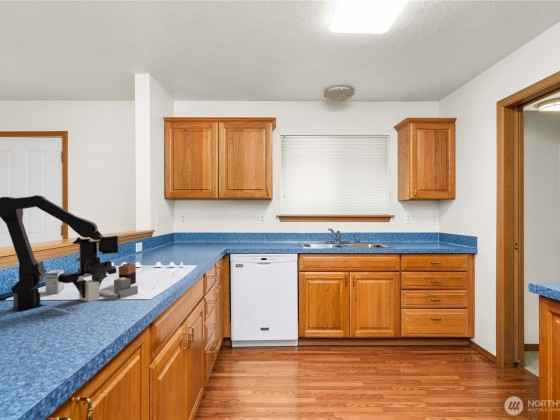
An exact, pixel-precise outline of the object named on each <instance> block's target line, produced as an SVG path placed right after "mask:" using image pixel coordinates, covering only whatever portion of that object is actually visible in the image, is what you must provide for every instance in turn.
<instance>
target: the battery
mask: <svg viewBox="0 0 560 420" xmlns="http://www.w3.org/2000/svg"><path fill="white" fill-rule="evenodd" d="M136 267H137V266H136V264H135V263H132V262H127V263H123V264H122V265H119V266H118V278H127V279H130V280H131V286H132V285H134V284H136V283H137V270H136V269H137V268H136Z"/></svg>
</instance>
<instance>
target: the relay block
mask: <svg viewBox="0 0 560 420" xmlns="http://www.w3.org/2000/svg"><path fill="white" fill-rule="evenodd" d="M113 286H114V293H118V291H117V290H121V289H125V288H129V287H132V285H131V280H130V279H127V278H119V277H118V278H116V279H113Z"/></svg>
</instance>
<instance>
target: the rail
mask: <svg viewBox="0 0 560 420" xmlns="http://www.w3.org/2000/svg"><path fill="white" fill-rule="evenodd" d="M138 290H139V286H138V285H133V286H131V287H129V288H125V289H121V290H117V291H118V293H114V284H113V285H111V284H110V285H108V289H105V290H104V289H103V290H102V289H99V292H100V296H104V297H110V298H115V299H119V300H121V299H124V298H128V297H132V296H134V295H138V294H139V291H138Z"/></svg>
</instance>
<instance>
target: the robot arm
mask: <svg viewBox="0 0 560 420" xmlns="http://www.w3.org/2000/svg"><path fill="white" fill-rule="evenodd" d="M32 208H37V209H39V210H41V211H43V212H44V213H46V214H49V215H51V216H52V217H54V218H55V219H57V220H59V221H61V222H63V223H65V224H66V225H67V226H68V227H70V228H71V230H72V231H74V232H75V233H77V234H78V235H79V236H78V237H77V238H76V239H75V240H74V241H73V242H72V244H73V245H78V247H79V249H78V250H79V251H78V252H79V257H78V258H77V262H79V268H77V272H73V271H68V272H64V273H62V274H60V275H59V277H58V282H62V283H64V284H70V283H72V284H73V285H74V286H75V288H76V289H77V291H78V293H80V295H81V296H82V298H85V283H86V281H87V280H86V279H84V278H86V277H90V276H91V280H92V281H98V282H99V288H101V284H102V282H103V280H104V279H105V278H107V277H108V275H114V274H117V267H116V266H115V265H112V262H111V261H110V260H107V261H103V262H101V258H100V257H99V256H98V252H99V253H101V255H108V254H110V255H111V254H112V255H113V254H119V253H120V242H119V241H120V240H119V235H112V236H103V234H102V233H101V232H100V231H99V229H98V225H97V224H96V223H95V222H93V221H91V220H89V219H85V218H83V217H80V216H77V215H75V214H73V213H71V212H69V211H68V210H66V209H65V208H63V207H61V206H59V205H57V204H55V203H54V202H52V201H50V200H48V199H47V198H46V197H45V196H43V195H36V194H35V195H31V196H25V197H22V196H21V197H15V196H14V197H12V196H2V197H1V196H0V219H1V220H2V221H3V222H4V223H5V224H6V227H7V230H8V233H9V236H10V239H11V242H12V246H13V248H14V251H15V254H16V257H17V260H18V281H17V282H16V283H15V284H14V285H13V286H12V287H11V288H10V290H11V292H12V297H13V299H12V300H13V303H12V304H13V306H11V308H10V309H12V310H13V311H17V312H23V311H27V310H31V309H35V308H38V307H41V306H42V304H41V292H40V291H39V288H38V286H39V284H40V283H41V282H42V281H44V279H45V274H46V273H48V272H47V270H46V269H45V265H44V261H40V262H38V260H37V259H36V258H35V255H34V252H33V249H32V246H31V243H30V240H29V237H28V233H27V232H26V227H25V225H24V221H23V216H24V209H32ZM91 239H92V240H91ZM107 274H108V275H107Z"/></svg>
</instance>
